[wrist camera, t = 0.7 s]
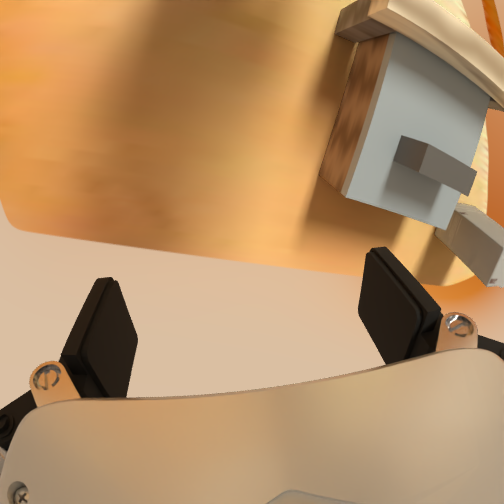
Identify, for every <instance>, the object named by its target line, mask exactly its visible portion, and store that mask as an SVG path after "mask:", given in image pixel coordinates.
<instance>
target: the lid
mask: <svg viewBox="0 0 504 504" xmlns="http://www.w3.org/2000/svg"><path fill="white" fill-rule="evenodd" d="M490 97H491V96H490V95H488V94H487V93H486V92H485V91H484V90H482V89H481V88H480V87H479V86H478V85H476V84H475V83H474V82H473V81H471V80H470V79H469V78H467V77H466V76H465V75H463V74H462V73H461V72H459V71H458V70H457V69H455V68H454V67H453V66H451V65H450V64H448V63H447V62H446V61H444V60H443V59H441V58H440V57H438V56H437V55H435V54H434V53H432V52H431V51H429V50H428V49H426V48H424V47H423V46H421V45H420V44H418V43H416V42H415V41H413V40H411V39H410V38H408V37H406V36H404V35H403V34H401V33H399V32H397V31H396V32H392V33H390V34H389V38H388V42H387V46H386V49H385V53H384V57H383V60H382V64H381V68H380V71H379V75H378V78H377V82H376V85H375V89H374V92H373V95H372V99H371V102H370V105H369V109H368V112H367V115H366V118H365V121H364V125H363V128H362V131H361V134H360V137H359V140H358V143H357V146H356V149H355V152H354V155H353V158H352V161H351V164H350V167H349V170H348V173H347V176H346V179H345V182H344V184H343V187H342V190H341V194H342V195H343V196H345V197H346V198H350V199H353V200H356V201H360V202H363V203H366V204H369V205H373V206H376V207H379V208H382V209H385V210H388V211H391V212H394V213H397V214H400V215H403V216H406V217H409V218H412V219H415V220H418V221H421V222H424V223H427V224H429V225H432V226H435V227H438V228H441V229H443V230H446V228H447V226H448V224H449V222H450V219H451V217H452V214H453V212H454V210H455V207H456V205H457V202H458V200H459V197H460V194H461V193H462V194H464V195H466V196H468V195H469V193H470V190H471V187H472V185H473V182H474V179H475V176H476V173H477V171H475V170H474V169H472V168H470V167H471V164H472V161H473V158H474V155H475V152H476V149H477V145H478V142H479V139H480V135H481V132H482V128H483V125H484V121H485V117H486V113H487V109H488V105H489V101H490Z"/></svg>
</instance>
